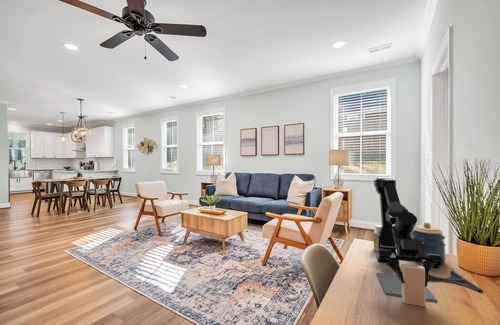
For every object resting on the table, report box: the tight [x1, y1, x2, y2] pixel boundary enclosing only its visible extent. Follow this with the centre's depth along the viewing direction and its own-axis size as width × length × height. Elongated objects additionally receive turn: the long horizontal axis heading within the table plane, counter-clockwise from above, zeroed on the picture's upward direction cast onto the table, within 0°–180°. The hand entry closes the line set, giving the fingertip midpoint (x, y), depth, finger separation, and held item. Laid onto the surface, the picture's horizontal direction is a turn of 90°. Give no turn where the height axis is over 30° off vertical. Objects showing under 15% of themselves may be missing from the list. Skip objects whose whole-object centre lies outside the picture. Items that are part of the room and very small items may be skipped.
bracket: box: [428, 270, 484, 293], centre depth 89 cm, size 14×15×3 cm
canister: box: [411, 221, 447, 265], centre depth 109 cm, size 13×13×18 cm
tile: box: [400, 263, 427, 307], centre depth 75 cm, size 2×6×12 cm, turn 71°
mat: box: [375, 272, 438, 303], centre depth 86 cm, size 16×15×1 cm
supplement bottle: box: [373, 224, 382, 252], centre depth 122 cm, size 7×7×13 cm
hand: (414, 284), depth 74 cm, fingers closed on tile, 6 cm apart
